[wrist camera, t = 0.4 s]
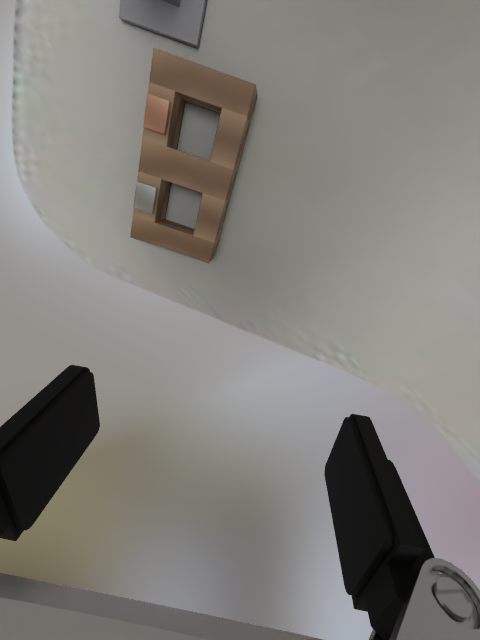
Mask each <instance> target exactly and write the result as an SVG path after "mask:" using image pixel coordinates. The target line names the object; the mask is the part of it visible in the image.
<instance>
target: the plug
mask: <svg viewBox="0 0 480 640" xmlns="http://www.w3.org/2000/svg"><path fill="white" fill-rule="evenodd" d="M161 1H164V2H167V3H169V4H172V5H175V6H177V7H180V2H181V0H161Z"/></svg>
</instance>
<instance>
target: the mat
mask: <svg viewBox="0 0 480 640" xmlns="http://www.w3.org/2000/svg"><path fill="white" fill-rule="evenodd" d="M206 2H207V0H181V2H180V7H177V6H175V5H172V4H169V3H167V2H164V1H161V0H121V1H120V14H119V18H120V19H121V20H122V21H125V22H127V23H130V24H133V25H136V26H138V27H141V28H144V29H147V30H149V31H152V32H155V33H158V34H160V35H163V36H166V37H169V38H171V39H174V40H177V41H180V42H182V43H185V44H188V45H191V46H194V47H196V48H198V47H199V41H200V36H201V30H202V25H203V19H204V13H205V8H206Z"/></svg>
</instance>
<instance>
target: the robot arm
mask: <svg viewBox="0 0 480 640" xmlns="http://www.w3.org/2000/svg"><path fill="white" fill-rule="evenodd" d="M99 427H100V423H99V414H98V407H97V399H96V391H95V383H94V376H93V373H91V372H90V370H89V369H88V368H87V367H81V366H75V365H71V366H69V367H67V368H66V369H65V370H64V371H63V372H62V373H61V374H60V375H58V376H57V377H56V378H55V379H54V380H53V381H52V382H51V383H50V384H49V385H47V386H46V387H45V388H44V389H43V390H41V391H40V392H39V393H38V394H37V395H36V396H35V397H34V398H32V399H31V400H30V401H29V402H28V403H27V404H26V405H25V406H23V408H21V409H20V410H19V411H18V412H17V413H16V414H14V415H13V416H12V417H11V418H10V419H9V420H8V421H7V422H5V423H4V424H3V425H2V426H1V427H0V538H3V539H8V540H13V541H16V540H17V539H18V538H19V536H20V535H21V533H22V532H23V531H24V530H27V529H29V528H30V527H31V526H32V525H33V524H34V522H35V521H36V519H37V518H38V517H39V515H40V514H41V512H42V511H43V510H44V508H45V507H46V505H47V504H48V502H49V501H50V500H51V498H52V497H53V495H54V494H55V492H56V491H57V490H58V488H59V487H60V485H61V484H62V483H63V481H64V480H65V478H66V477H67V475H68V474H69V473H70V471H71V470H72V468H73V467H74V466H75V464H76V463H77V461H78V460H79V459H80V457H81V456H82V454H83V453H84V451H85V450H86V449H87V447H88V446H89V444H90V443H91V442H92V440H93V439H94V437H95V436H96V434H97V433H98V430H99ZM325 480H326V485H327V490H328V496H329V502H330V507H331V513H332V518H333V524H334V530H335V535H336V541H337V547H338V552H339V558H340V563H341V568H342V574H343V580H344V585H345V589H346V592H347V593H348V594H349V595H352V599H353V605H354V609H358V610H362V611H367V612H368V615H369V619H370V623H371V626H372V628H373V631H372V633H371V635H370V638H369V640H480V590H479V589H478V588H477V586H476V585H475V584H474V583H473V581H472V580H471V579H470V578H469V577H468V576H467V575H466V574H465V573H464V572H463V571H462V570H460V569H459V568H457V567H456V566H454V565H453V564H452V563H450V562H447V561H445V560H443V559H437V558H434V555H433V553H432V551H431V548H430V546H429V544H428V541H427V539H426V537H425V535H424V532H423V530H422V528H421V526H420V523H419V521H418V518H417V516H416V514H415V511H414V509H413V507H412V505H411V502H410V500H409V498H408V496H407V493H406V491H405V489H404V486H403V484H402V482H401V479H400V477H399V475H398V473H397V470H396V468H395V466H394V464H393V463H392V462H391V461H390V460H388V459H387V457H386V455H385V452H384V450H383V447H382V445H381V443H380V440H379V438H378V435H377V433H376V431H375V428H374V426H373V423H372V421H371V420H370V418H369V417H367V416H361V415H355V414H351V415H350V417H349V418H348V417H346V418H345V419H344V421H343V424H342V426H341V429H340V431H339V434H338V436H337V438H336V441H335V443H334V446H333V448H332V451H331V453H330V456H329V458H328V461H327V463H326V466H325ZM0 640H321V639H318V638H313V637H309V636H304V635H300V634H296V633H291V632H287V631H282V630H277V629H272V628H268V627H263V626H258V625H253V624H249V623H244V622H239V621H234V620H230V619H224V618H220V617H215V616H210V615H205V614H201V613H196V612H191V611H187V610H182V609H177V608H172V607H167V606H162V605H157V604H152V603H147V602H142V601H138V600H133V599H128V598H123V597H118V596H113V595H108V594H103V593H98V592H94V591H89V590H83V589H78V588H73V587H68V586H63V585H58V584H53V583H48V582H43V581H38V580H32V579H28V578H23V577H18V576H13V575H7V574H2V573H0Z"/></svg>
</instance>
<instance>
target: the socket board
mask: <svg viewBox="0 0 480 640" xmlns="http://www.w3.org/2000/svg"><path fill="white" fill-rule="evenodd" d="M256 98H257V91H256V85H255V84H252V83H250V82H247V81H244V80H241V79H238V78H236V77H233V76H230V75H227V74H225V73H222V72H219V71H216V70H213V69H211V68H208V67H205V66H202V65H200V64H197V63H194V62H191V61H188V60H186V59H183V58H180V57H177V56H175V55H172V54H169V53H166V52H163V51H161V50H158V49H155V48H154V49H153V57H152V66H151V74H150V82H149V90H148V93H147V101H146V110H145V118H144V126H143V127H144V131H143V139H142V147H141V155H140V163H139V171H138V180H137V183H136V191H135V200H134V212H133V220H132V228H131V237H132V238H135V239H138V240H141V241H144V242H147V243H150V244H153V245H156V246H159V247H162V248H165V249H168V250H171V251H174V252H177V253H180V254H183V255H186V256H189V257H192V258H195V259H198V260H201V261H204V262H207V263H209V262H210V261H211V260H212V259H213V258H214V256H215V252H216V248H217V244H218V241H219V237H220V233H221V229H222V226H223V222H224V218H225V214H226V211H227V207H228V203H229V199H230V196H231V192H232V188H233V184H234V181H235V177H236V173H237V169H238V166H239V162H240V158H241V154H242V151H243V147H244V143H245V139H246V136H247V132H248V128H249V124H250V121H251V117H252V113H253V109H254V106H255V102H256ZM185 101H187V102H190V103H192V104H195V105H198V106H201V107H204V108H206V109H209V110H212V111H215V112H218V113H221V114H220V119H219V123H218V128H217V132H216V137H215V141H214V146H213V150H212V155H211V159H210V161H207V160H204V159H201V158H198V157H195V156H193V155H190V154H187V153H184V152H181V151H178V150H177V145H178V139H179V134H180V128H181V122H182V116H183V110H184V105H185ZM171 182H172V183H174V184H177V185H180V186H183V187H186V188H189V189H192V190H195V191H198V192H201V193H203V195H202V199H201V204H200V208H199V213H198V217H197V222H196V226H195V229H192V228H189V227H186V226H183V225H180V224H177V223H174V222H171V221H168V220H165V214H166V209H167V203H168V197H169V191H170V186H171Z"/></svg>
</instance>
